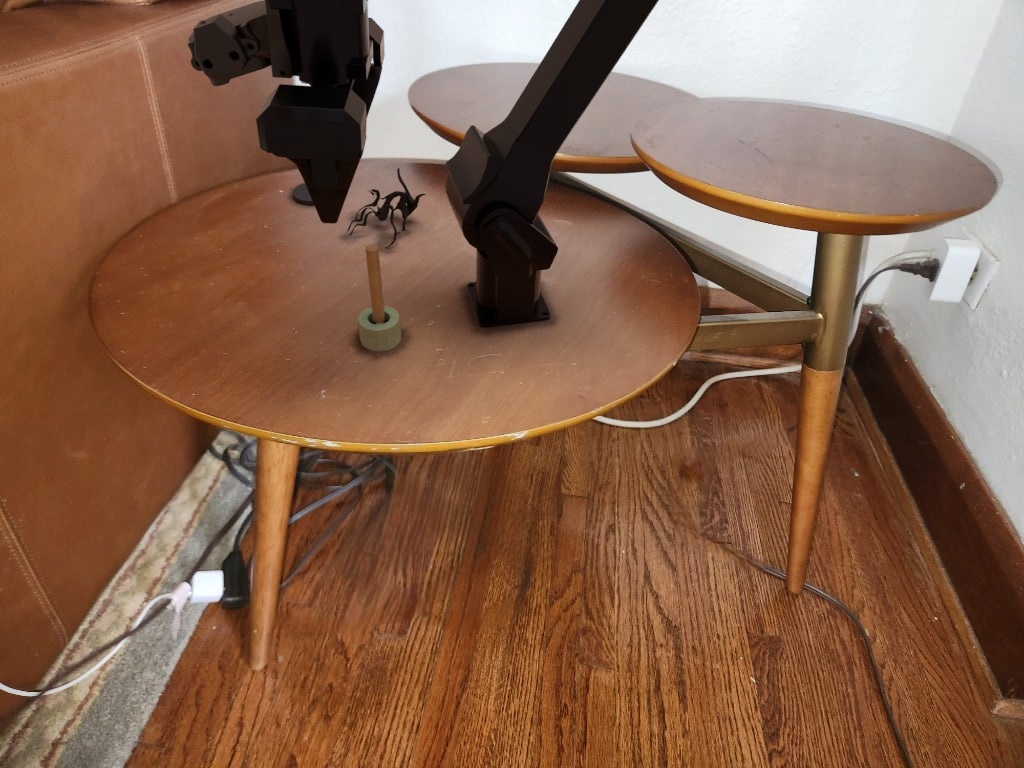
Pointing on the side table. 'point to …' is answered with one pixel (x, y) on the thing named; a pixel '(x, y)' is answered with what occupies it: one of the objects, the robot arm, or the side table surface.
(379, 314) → the wooden stick
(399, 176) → the creature
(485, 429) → the side table surface
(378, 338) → the pale green thick ring
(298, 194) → the coaster
